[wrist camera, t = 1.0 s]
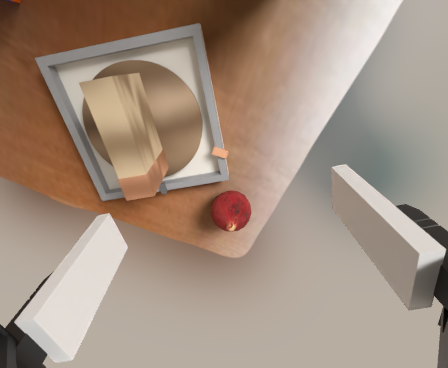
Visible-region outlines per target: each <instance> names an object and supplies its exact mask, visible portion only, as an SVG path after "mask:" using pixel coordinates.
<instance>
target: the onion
mask: <svg viewBox="0 0 448 368" xmlns="http://www.w3.org/2000/svg"><path fill="white" fill-rule="evenodd" d="M250 215H251V207H250V203H249V201H248V200H247V198H246V197H245V195H243V194H241V193H239V192H237V191H227V192H224V193H221V194H220V195H219V196H217V197H216V199H215V200H214V202H213V204H212V208H211V216H212V218H213V221H214V223H215V224H216V225H217V226H218V227H219V228H221V229H223V230H225V231H230V232H231V231H238V230H240V229H242V228H243V227H244V226H245V225H246V224H247V223H248V221H249V219H250Z"/></svg>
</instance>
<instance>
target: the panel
mask: <svg viewBox="0 0 448 368" xmlns="http://www.w3.org/2000/svg"><path fill="white" fill-rule="evenodd" d="M35 60H36V62H37V64H38V66H39V69H40V71H41V73H42V75H43V77H44V79H45V81H46V83H47V85H48V88H49V90H50V92H51V94H52V96H53V98H54V100H55V102H56V104H57V107H58V109H59V111H60V113H61V115H62V117H63V119H64V121H65V123H66V126H67V128H68V130H69V132H70V134H71V136H72V138H73V140H74V142H75V145H76V147H77V149H78V151H79V153H80V155H81V157H82V159H83V162H84V164H85V166H86V168H87V170H88V172H89V174H90V176H91V178H92V181H93V183H94V185H95V187H96V189H97V191H98V193H99V195H100V197H101V200H102V201H106V200H112V199H118V198H124V197H125V196H124V194H123V191H122V189H121V187H120V184H119V182H118V179H119V178H118V176H117V174H116V171H115V169H114V167H113V166H112V165H110V164H109V163H108V162H107V161H106V160H104V159H103V158H102V157H101V156H100V154H99V153H98V152H97V151H96V149H95V148H94V146H93V145H92V143H91V141H90V139H89V137H88V135H87V133H86V130H85V126H84V122H83V114H82V108H83V100H84V94H83V92H82V90H81V87H80V85H79V83H80V82H85V81H90V80H93V78H94V77H95V76H96V75H97V74H98V73H99V72H100V71H101V70H103V69H104V68H106V67H107V66H110V65H112V64H114V63H117V62H121V61H126V60H143V61H149V62H153V63H156V64H159V65H161V66H163V67H166V68H167V69H169V70H171V71H172V72H174V73H175V74H176V75H177V76H179V77H180V78H181V79H182V80H183V81H184V82H185V83H186V84H187V85H188V87H189V88H190V89H191V91H192V92H193V94H194V96H195V98H196V100H197V102H198V104H199V107H200V111H201V114H202V121H203V130H202V137H201V141H200V145H199V148H198V150H197V152H196V154H195V156H194V157H193V159H192V160H191V161H190V163H188V164H187V165H186V166H185V167H184V168H183V169H181V170H180V171H179V172H177V173H175V174H173V175H170V176H167V177H164V178H163V180H162V182H161V184H160V186H159V188H158V190H157V192H159V191H161V193H162V194H166V193H168V191H167V190H171V189H177V188H183V187H189V186H195V185H201V184H207V183H213V182H219V181H225V180H229V172H228V167H227V161H226V157H227V155H228V151H226V150H224V145H223V140H222V135H221V129H220V124H219V118H218V113H217V108H216V102H215V97H214V92H213V86H212V81H211V75H210V70H209V65H208V59H207V54H206V49H205V43H204V38H203V32H202V27H201V25H200V23H197V24H193V25H188V26H183V27H178V28H174V29H169V30H164V31H160V32H155V33H150V34H145V35H141V36H136V37H131V38H127V39H122V40H117V41H112V42H108V43H103V44H98V45H94V46H89V47H84V48H80V49H75V50H70V51H65V52H61V53H56V54H51V55H47V56H42V57H37V58H35Z"/></svg>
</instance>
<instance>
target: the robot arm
mask: <svg viewBox="0 0 448 368" xmlns="http://www.w3.org/2000/svg"><path fill="white" fill-rule="evenodd" d="M331 174H332V208H333V209H334V211H335V212H336V214H337V215H338V216H339V218H340V219H341V220H342V222H343V223H344V224H345V226H346V227H347V228H348V230H349V231H350V232H351V234H352V235H353V236H354V238H355V239H356V240H357V242H358V243H359V245H360V246H361V247H362V249H363V250H364V251H365V253H366V254H367V255H368V257H369V258H370V259H371V261H372V262H373V263H374V265H375V266H376V267H377V269H378V270H379V271H380V273H381V274H382V275H383V277H384V278H385V279H386V281H387V282H388V283H389V285H390V286H391V287H392V289H393V290H394V291H395V293H396V294H397V295H398V297H399V298H400V299H401V301H402V302H403V303H404V305H405V306H406V307H407V309H408V310H414V309H421V308H428V307H431V306H432V302H433V298H434V296H435V297H436V298H437V299H438V300H439V302H440V303H441V304H442V305H443V309H442V313H441V316H440V320H439V323H438V325H439V326H441V328H440V342H439V355H438V367H437V368H448V231H447V230H445V229H444V228H443V227H441V226H438V224H437V223H436V222H435V221H433V220H432V219H430V218H429V217H428V216H427V215H426V214H424V213H423V212H422V211H420V210H419V209H416V208H414V207H411V206H409V205H407V204H404V205H399V206H394V205H393V204H392V203H391V202H390V201H388V200H387V199H386V198H385V197H384V196H382V195H381V194H380V193H379V192H378V191H377V190H375V189H374V188H373V187H372V186H370V185H369V184H368V183H367V182H366V181H365V180H364V179H362V178H361V177H360V176H359V175H357V174H356V173H355V172H354V171H353V170H352V169H351V168H349V167H348V166H347V165H345V164H344V165H339V166H335V167H331ZM127 248H128V246H127V245H126V243H125V241H124V239H123V238H122V235H121V233H120V232H119V230H118V228H117V226H116V224H115V223H114V221H113V219H112V217H111V215H110V213H108V214H103V215H99V216H97V217H96V218H95V220H94V221H93V222H92V224H91V225H90V226H89V227H88V229H87V230H86V231H85V233H84V234H83V235H82V236H81V238H80V239H79V240H78V241H77V243H76V244H75V245H74V247H73V248H72V249H71V250H70V252H69V253H68V254H67V256H66V257H65V258H64V259H63V261H62V262H61V263H60V264H59V266H58V267H57V268H56V269H55V271H53V272H52V273H51V274H50V275H49V276H48V277H47V278H46V279H44V281H43V282H42V283H41V284H40V285H39V286H38V288H37V289H36V291H35V292H34V293H33V294H32V295H31V296H30V299H29V300H28V301H26V303H25V304H24V305H23V306H22V308H21V309H20V310H19V312H18V313H17V314H16V315H15V316H14V318H13V319H12V320H11V322H10V323H9V324H8V325H7V327H6V328H4V327H3V326H2V325H0V368H46V367H45V366H44V365H43V364H42V363H43V361H44V360H45V358H46V356H47V355H48V356H49V357H50V358H51V359H52V360H53V361H54V362H55V363H57V362H64V361H71V360H73V358H74V356H75V354H76V352H77V350H78V348H79V346H80V344H81V342H82V340H83V338H84V336H85V334H86V332H87V330H88V328H89V326H90V324H91V322H92V319H93V318H94V316H95V313H96V311H97V309H98V307H99V305H100V303H101V301H102V299H103V297H104V295H105V293H106V291H107V289H108V287H109V285H110V283H111V281H112V279H113V277H114V275H115V273H116V271H117V269H118V267H119V265H120V263H121V260H122V258H123V256H124V254H125V252H126V251H127Z"/></svg>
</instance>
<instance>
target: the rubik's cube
mask: <svg viewBox="0 0 448 368" xmlns="http://www.w3.org/2000/svg"><path fill="white" fill-rule="evenodd" d="M6 1H11V2H15V3H19V4H21V2H20V0H6Z"/></svg>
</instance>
